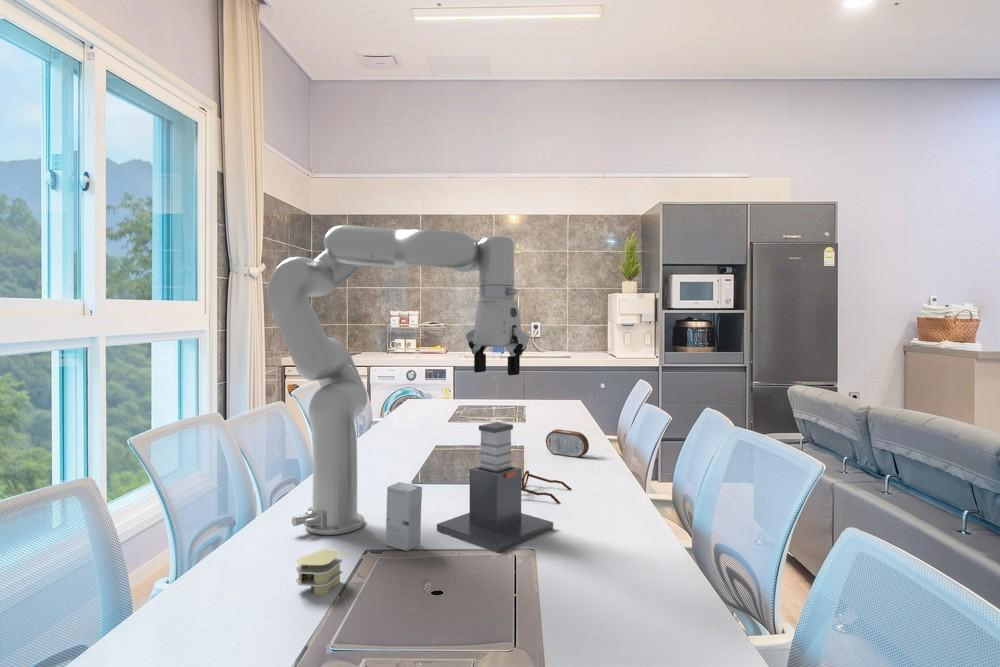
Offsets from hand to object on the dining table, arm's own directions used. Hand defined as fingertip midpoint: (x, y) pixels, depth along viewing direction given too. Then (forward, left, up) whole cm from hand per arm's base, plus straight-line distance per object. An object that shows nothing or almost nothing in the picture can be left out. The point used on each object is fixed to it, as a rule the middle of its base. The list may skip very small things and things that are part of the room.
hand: (496, 373), depth 130 cm
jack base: (0, 0, -34) cm, 34 cm away
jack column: (0, 0, -32) cm, 32 cm away
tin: (+68, +29, -35) cm, 81 cm away
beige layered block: (-41, +4, -35) cm, 54 cm away
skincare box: (-19, +8, -35) cm, 40 cm away
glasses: (+28, +9, -35) cm, 46 cm away
